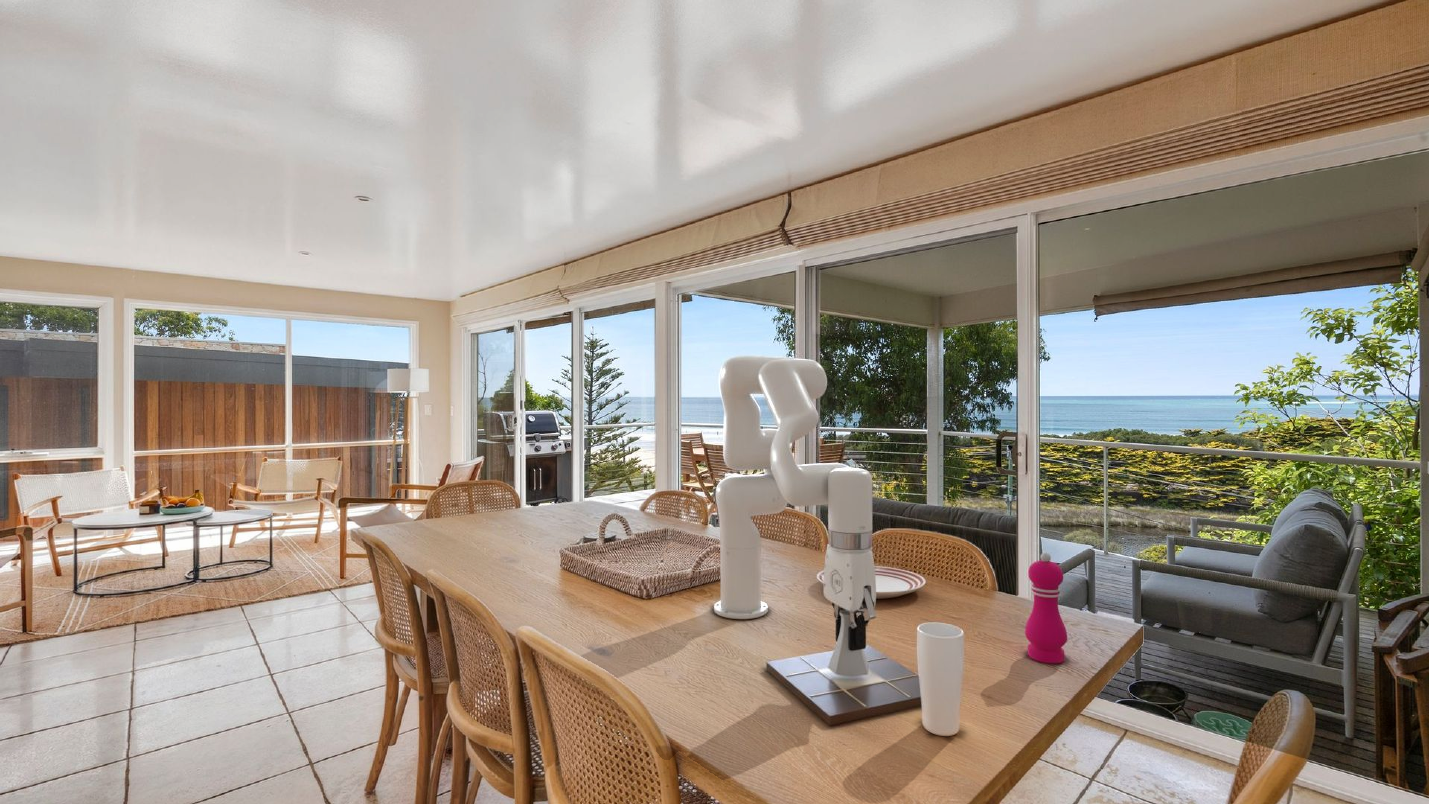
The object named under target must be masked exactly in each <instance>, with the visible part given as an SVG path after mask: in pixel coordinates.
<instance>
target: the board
mask: <svg viewBox="0 0 1429 804" xmlns="http://www.w3.org/2000/svg"><path fill="white" fill-rule="evenodd" d="M863 651H864V653H865V656H866V659H867V662H868V665H869V672H868V675H862V676H855V677H851V676H844V675H837V674H835V673H833V672H832V671H831V670H830V669H829V668H828V666H829V663H830V660H831V657H832V654H833V652H834V650H829V651H823V652H817V653H811V654H803V655H800V656H799V655H798V656H794V657H793V656H792V657H787V658H782V659H781V658H780V659H776V660H771V661H769V660H768V661H766V662H765V663H766V666H765V667H766V671H767V672H768V673H769V674H770V675H772V677H774V678H775V679H776V680H777V681H779V683H780V684H782V685H783V686H784V687H785V688H786V689H787V690H788V691H790V693H792V694H793V695H794V696H796V698H798V699H799V700H800V701H801V702H802V703H803V704H804V705H806V706H807V707H808V708H809V709H810V710H811V711H812V712H814V713H815V714H816V715H817V716H818V717H819V718H820V719H822V720H823V721H824V723H826V724H827V725H828V726H830V727H831V726H836V725H840V724H845V723H849V722H853V721H859V720H863V719H866V718H867V719H868V718H873V717H876V716H880V715H885V714H890V713H895V712H898V711H903V710H908V709H913V708H917V707H922V705H921V694H920V682H919V674H917V673H915V672H914V671H912V670H910V669H909V668H907V667H905V666H904V665H902V664H901V663H899V662H897V661H896V660H894V659H892V658H890V657H889V656H887V655H885V654H884V653H882V652H881V651H879V650H878V649H875V648H874V647H873V646H870V645H869V644H866V648H865V649H863Z"/></svg>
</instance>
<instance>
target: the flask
mask: <svg viewBox="0 0 1429 804" xmlns="http://www.w3.org/2000/svg"><path fill="white" fill-rule="evenodd" d="M840 616H841V628H840V633H839V637H838V640H837V641H836V643H835V646H834V649H833V651H834V652H833V654H832V657H831V660H830V663H829V666H828V668H829V669H830V670H831V671H832V672H833V673H835V674H837V675H844V676H851V677H855V676H862V675H868V672H869V665H868V662H867V659H866V656H865V653H864V651H863V649H860V650H855V651H851V650H849V649H848V627H851V623H850V612H849V611H847V610H841V611H840ZM858 616H859V613H856V618H857V617H858Z"/></svg>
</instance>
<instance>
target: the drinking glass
mask: <svg viewBox="0 0 1429 804" xmlns="http://www.w3.org/2000/svg"><path fill="white" fill-rule="evenodd" d="M916 660H917V672H918V675H919V682H920V694H921V705H922V706H921V724H922V726H923V728H924V729H925V730H926V731H928V732H929V733H931V734H933V735H936V736H940V737H949V736H950V737H951V736H955V735H956V734H958V733H959V731H960V725H961V724H960V720H961V719H960V718H961V717H960V716H961V703H962V692H963V680H964V669H965V633H964V630H963V629H962V628H961V627H958V626H957V625H954V624H950V623H946V622H940V621H939V622H937V621H932V622H931V621H930V622H924V623H921V624H919V625H918V626H917V627H916Z"/></svg>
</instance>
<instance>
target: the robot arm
mask: <svg viewBox="0 0 1429 804" xmlns="http://www.w3.org/2000/svg"><path fill="white" fill-rule="evenodd" d="M718 386H719V387H718V389H719V393H720V397H721V402H722V407H723V435H722V436H723V441H722V443H723V446H722V453H723V461H724V465H725V466H726V467H727V468H728V469H730V470H734V471H757V470H759V471H760V470H763V471H764V474H762V473H761V474H743V475H733V476H732V475H731V476H727V477H725V478H723V479H722V480H720V481H719V482H718V484H717V486H716V488H715V502H716V508H717V514H718V521H719V522H718V523H719V550H720V551H719V552H720V553H719V557H720V558H719V560H720V562H719V563H720V567H719V568H720V570H719V571H720V575H719V576H720V578H719V579H720V590H719V591H720V600H718V601H717V602H715V603H714V604H713V611H714V613H715V614H716V615H718V616H719V617H723V618H725V619H726V618H727V619H733V620H751V619H756V618H757V619H758V618H760V617H763V616H765V615H767V613H768V612H769V606H768V604H767V603H766V602H765V601H762V536H761V533H760V530H759V529H758V527H757V526H756V524H755V522H754V521H753V519H752V517H756V516H763V515H765V516H766V515H776V514H780V513H781V512H783V511H785V510H786V508H787V507H788V504H789V505H791V506H792V507H801V508H802V507H811V506H823V505H824V506H827V508H828V509H827V522H828V523H827V524H828V525H827V527H828V529H827V530H828V531H827V535H828V537H827V538H828V539H827V540H828V541H827V542H828V543H827V545H826V551H825V557H824V565H823V567H824V568H823V570H824V584H823V596H824V598H825V599H827V601H829V602H831V606H832V607H833V617H834V619H835V642H837V640H838V637H839V633H840V628H841V616H840V611H841V610H847V611H849V612H850V623H851V627H848V649H849V650H851V651H855V650H860V649H865V648H866V645H867V627H869V622H870V621H871V620H875V619H876V618H877V614H876V610H875V607H876V601H877V599H876V579H875V567H874V566H875V561H874V555H873V554H874V553H873V477H872V474H871V472H870V471H868V470H867V469H863V468H858V467H851V466H850V465H847V464H845V463H840V462H831V463H806V464H805V463H804V464H798V463H797V461H796V458H795V457H794V454H793V451H792V448H791V444H792V443H794V442H796V441H798V440H800V439H801V438H804V437H805V436H807V435H808V434H810V432H812V431H813V430H814V429H815V428H816V427H817V425H818V423H819V419H820V416H819V412H818V410H817V408H816V406H815V405H814V402H813V401H812V400H817V399H820V398H821V397H822V396H823V395H824V394H825V393H826V390H827V386H828V377H827V375H826V371H825V369H824V367H823V366H822V365H821V364H820V363H819V362H818V361H817V360H814V359H805V358H797V357H792V356H791V357H789V356H764V355H741V356H734V357H731V358H729V359H727V360H726V361H724V362H723V364H722V365H721V367H720V371H719V374H718ZM754 395H763V397H764V400H765V402H766V404H767V407H768V409H769V412H770V414H771V416H772V418H773V421H774V424H775V425H776V428H777V429H776V428H761V419H762V418H761V417H762V414H761V408H760V406H759V404H758V402H757V401H756V399H755V397H754ZM856 613H858V616H857V618H856Z"/></svg>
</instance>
